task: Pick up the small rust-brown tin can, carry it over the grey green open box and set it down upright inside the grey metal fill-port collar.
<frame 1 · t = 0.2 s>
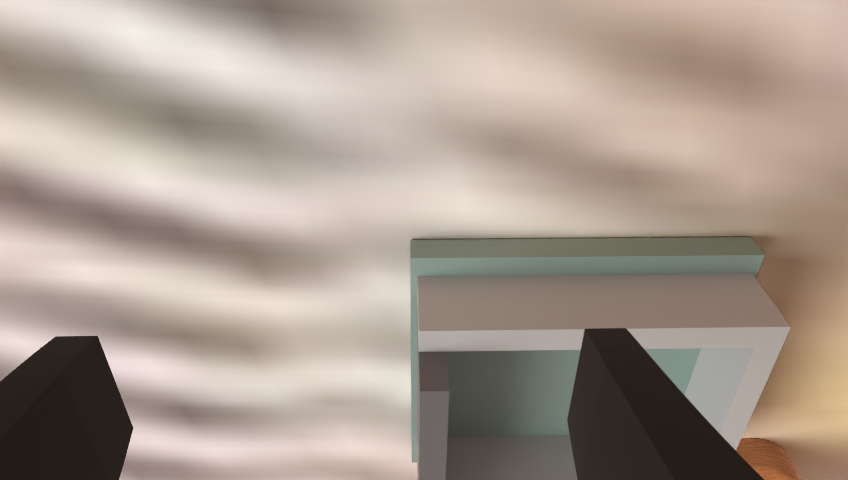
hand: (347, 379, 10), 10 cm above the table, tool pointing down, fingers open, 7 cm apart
grey green open box: (561, 350, 23), on the table
spout can: (733, 472, 28), on the table
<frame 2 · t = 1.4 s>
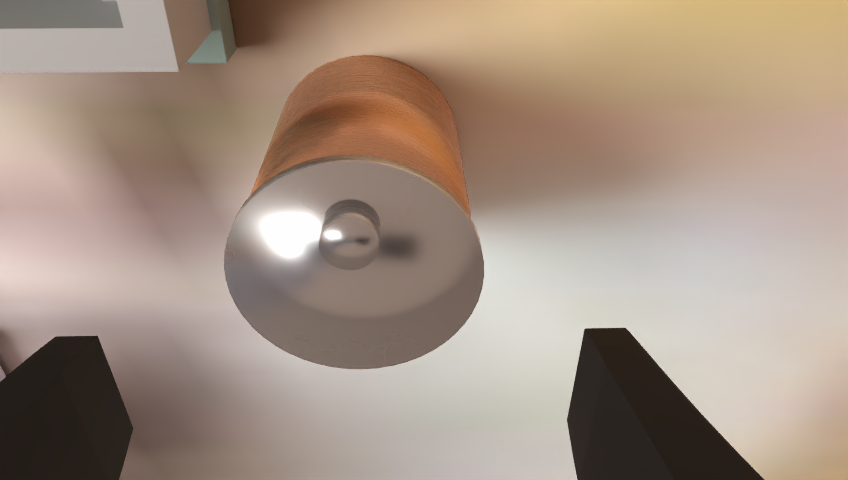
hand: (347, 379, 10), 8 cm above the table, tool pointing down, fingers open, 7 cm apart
spout can: (368, 142, 17), on the table
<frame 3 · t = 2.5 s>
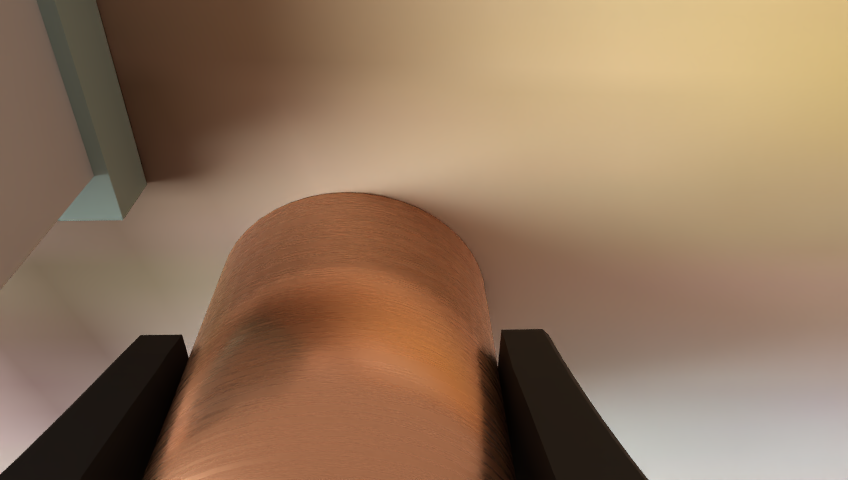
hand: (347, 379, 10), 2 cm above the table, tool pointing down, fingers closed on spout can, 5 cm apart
spout can: (354, 306, 11), on the table, touching gripper
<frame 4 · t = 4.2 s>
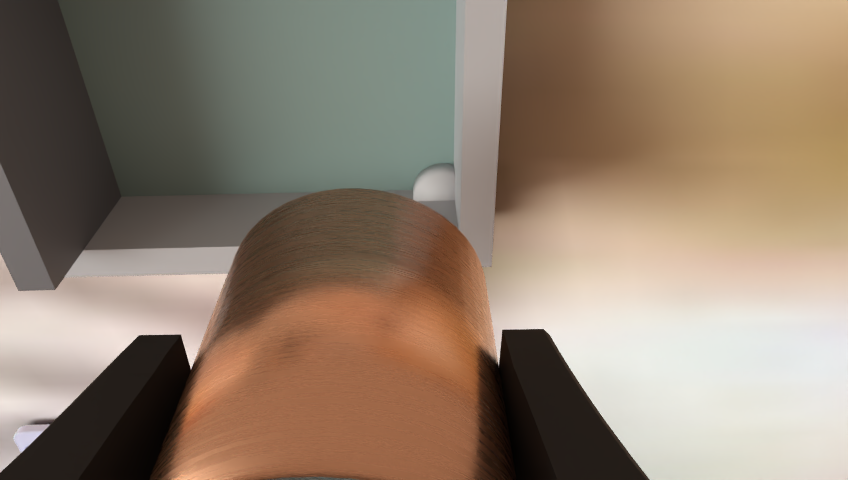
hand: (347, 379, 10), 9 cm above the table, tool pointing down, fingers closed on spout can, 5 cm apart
grey green open box: (275, 53, 16), on the table
spout can: (359, 298, 12), point 7 cm above the table, touching gripper
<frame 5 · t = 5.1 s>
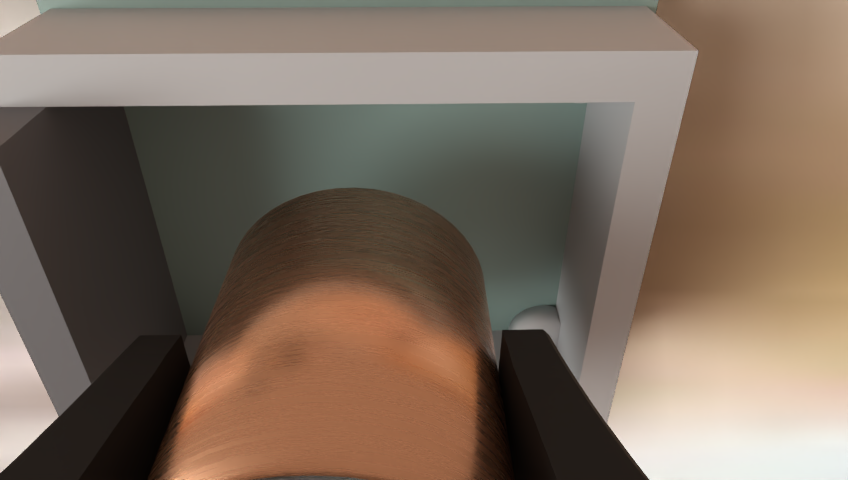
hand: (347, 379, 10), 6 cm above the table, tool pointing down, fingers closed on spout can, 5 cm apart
grey green open box: (365, 188, 15), on the table
spout can: (358, 297, 12), point 4 cm above the table, touching gripper
when the fingers open (4 cm above the table, at t = 5.9 s): spout can stays where it is, resting on grey green open box.
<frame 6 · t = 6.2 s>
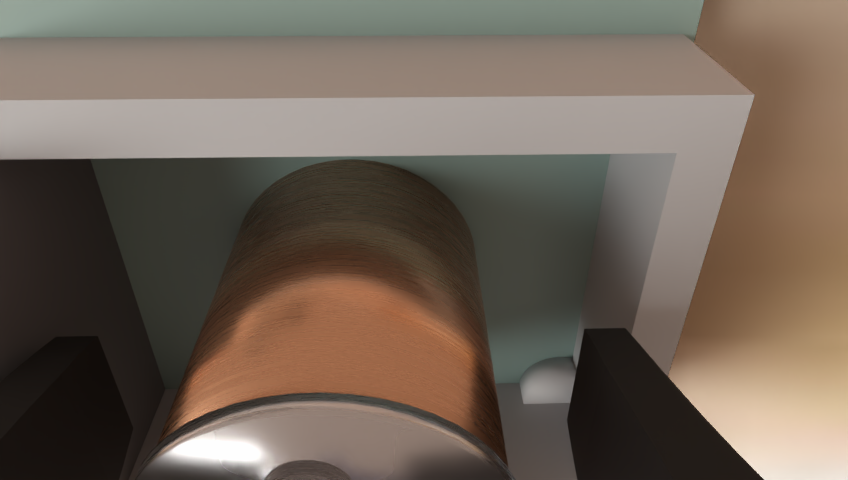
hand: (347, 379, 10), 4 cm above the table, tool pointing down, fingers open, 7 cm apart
grey green open box: (362, 230, 13), on the table
spout can: (357, 265, 12), point 1 cm above the table, touching grey green open box
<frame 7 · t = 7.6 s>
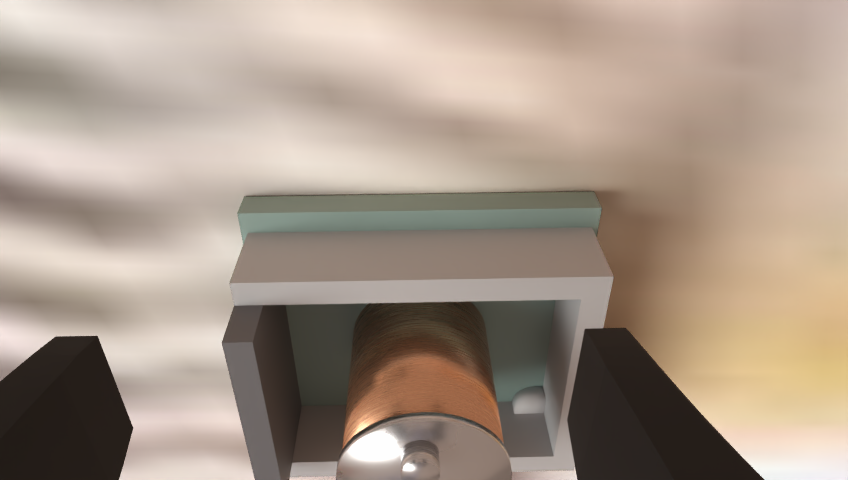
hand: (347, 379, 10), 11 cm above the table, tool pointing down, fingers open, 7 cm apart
grey green open box: (420, 315, 23), on the table
spout can: (419, 336, 22), point 1 cm above the table, touching grey green open box
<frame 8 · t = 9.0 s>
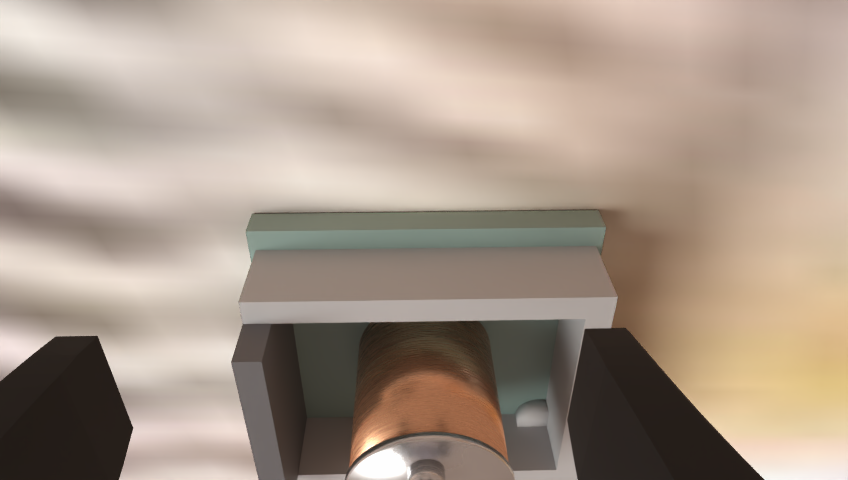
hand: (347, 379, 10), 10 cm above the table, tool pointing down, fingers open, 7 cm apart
grey green open box: (425, 329, 23), on the table
spout can: (424, 351, 22), point 1 cm above the table, touching grey green open box
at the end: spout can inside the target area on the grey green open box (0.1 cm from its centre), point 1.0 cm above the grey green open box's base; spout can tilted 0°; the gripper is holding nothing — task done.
